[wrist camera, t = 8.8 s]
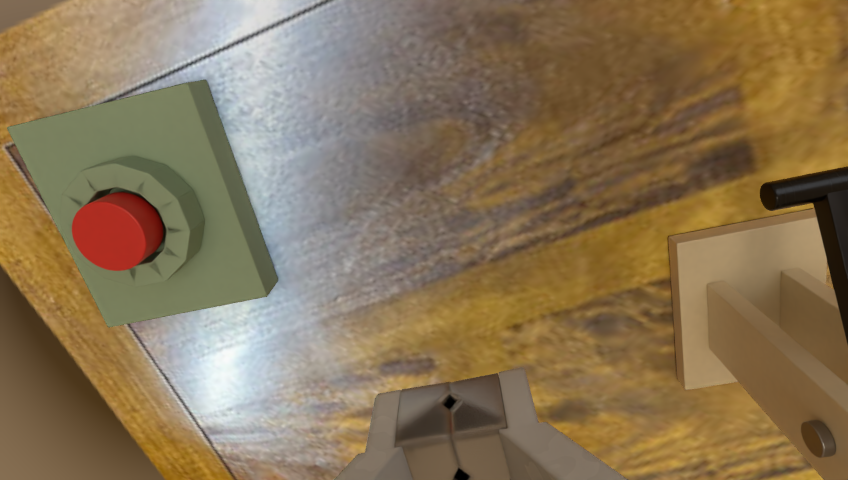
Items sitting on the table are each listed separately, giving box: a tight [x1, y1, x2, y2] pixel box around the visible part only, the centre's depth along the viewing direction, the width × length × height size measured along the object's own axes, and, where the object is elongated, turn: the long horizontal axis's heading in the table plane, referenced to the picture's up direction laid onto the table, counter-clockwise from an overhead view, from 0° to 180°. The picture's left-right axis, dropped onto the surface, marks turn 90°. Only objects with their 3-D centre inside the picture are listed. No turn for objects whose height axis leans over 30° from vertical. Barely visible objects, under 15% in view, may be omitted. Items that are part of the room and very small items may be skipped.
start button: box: [72, 192, 163, 271], centre depth 26 cm, size 4×4×2 cm
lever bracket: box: [668, 209, 848, 480], centre depth 25 cm, size 10×8×13 cm
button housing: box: [7, 80, 278, 327], centre depth 28 cm, size 12×10×4 cm
